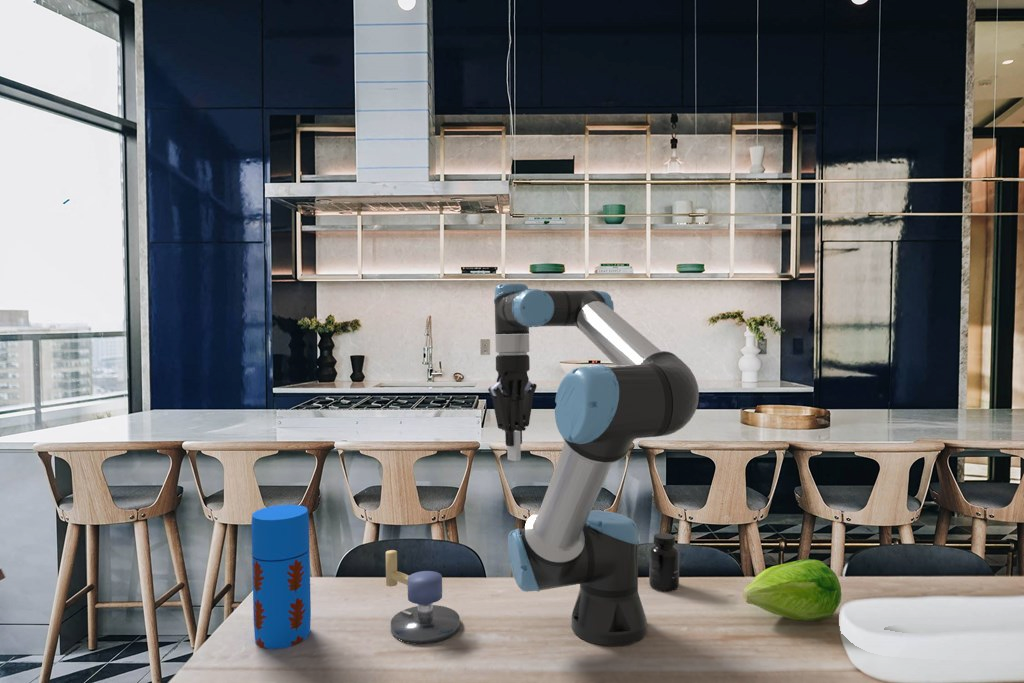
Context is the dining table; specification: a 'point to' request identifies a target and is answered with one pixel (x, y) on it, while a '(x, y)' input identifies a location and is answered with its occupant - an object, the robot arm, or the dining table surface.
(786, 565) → the lettuce
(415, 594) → the blue crank handle
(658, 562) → the supplement bottle
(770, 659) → the dining table surface
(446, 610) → the post base
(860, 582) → the dining table surface
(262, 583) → the thermos
